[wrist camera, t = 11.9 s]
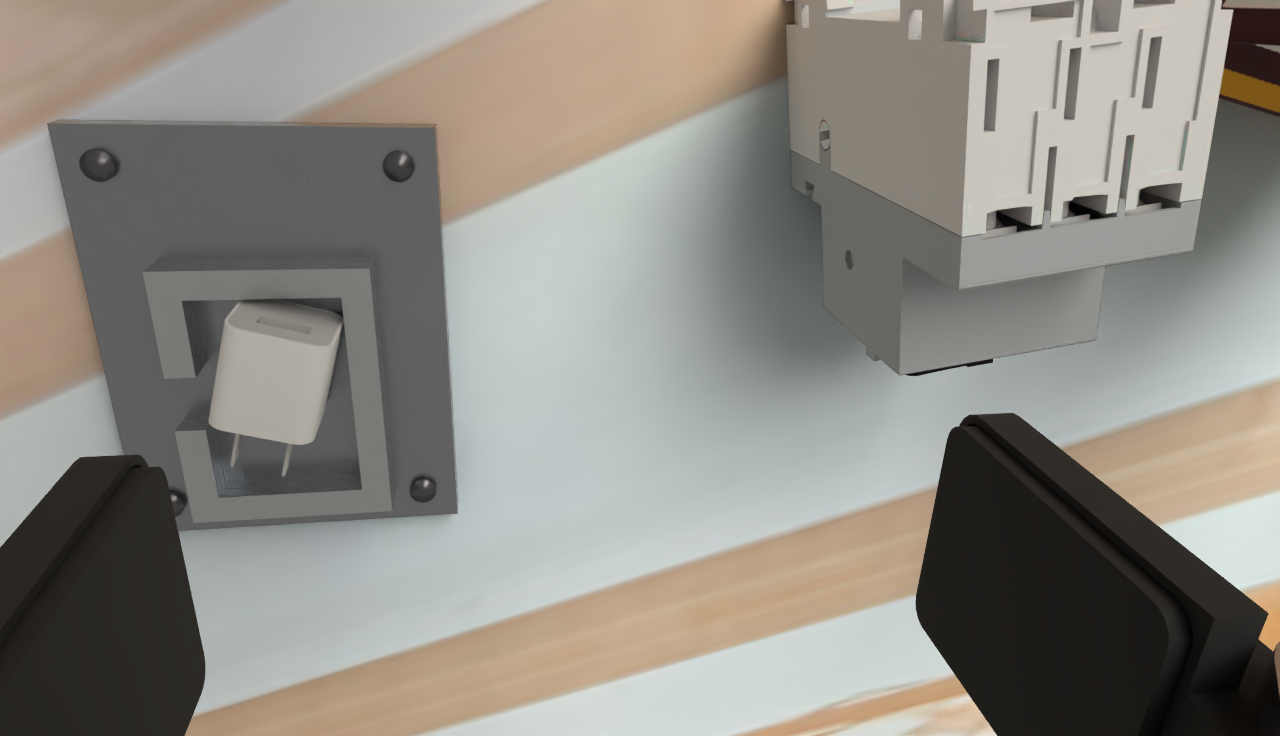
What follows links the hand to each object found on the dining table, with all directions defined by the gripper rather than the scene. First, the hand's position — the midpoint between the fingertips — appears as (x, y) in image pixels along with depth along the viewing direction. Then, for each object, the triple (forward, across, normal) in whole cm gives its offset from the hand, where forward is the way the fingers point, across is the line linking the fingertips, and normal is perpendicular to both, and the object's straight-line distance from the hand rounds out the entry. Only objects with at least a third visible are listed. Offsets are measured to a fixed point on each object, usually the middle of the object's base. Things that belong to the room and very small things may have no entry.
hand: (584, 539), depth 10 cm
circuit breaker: (+28, -16, 0) cm, 33 cm away
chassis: (+28, +10, +8) cm, 31 cm away
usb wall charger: (+28, +10, +10) cm, 31 cm away
